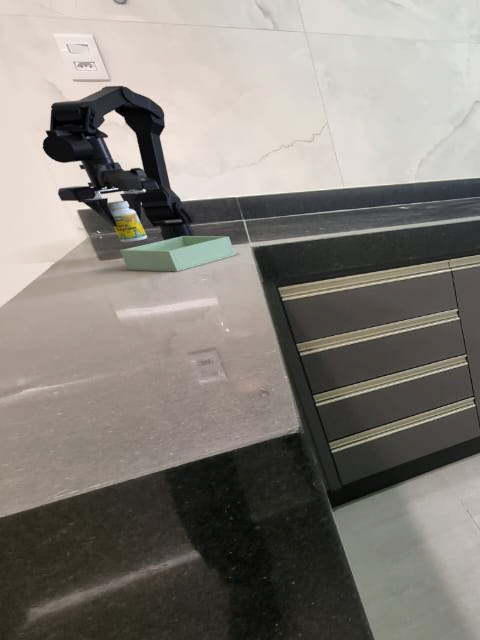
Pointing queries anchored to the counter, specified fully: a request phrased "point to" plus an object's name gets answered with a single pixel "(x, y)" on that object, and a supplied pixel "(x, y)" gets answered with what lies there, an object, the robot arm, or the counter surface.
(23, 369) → the counter surface
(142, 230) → the supplement bottle
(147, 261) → the bin
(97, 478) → the counter surface
